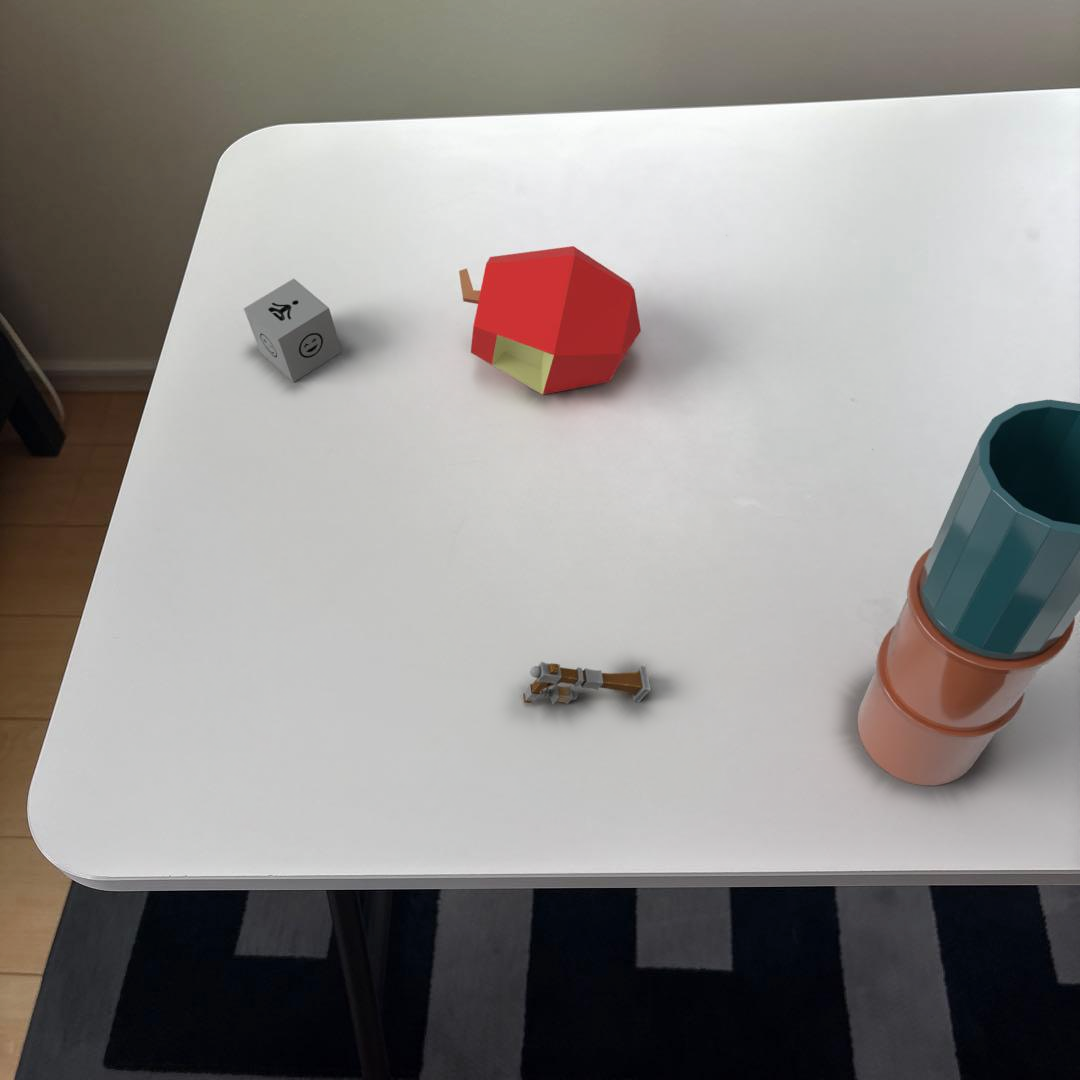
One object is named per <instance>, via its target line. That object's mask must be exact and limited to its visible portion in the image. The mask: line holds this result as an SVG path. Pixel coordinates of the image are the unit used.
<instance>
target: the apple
mask: <svg viewBox="0 0 1080 1080" xmlns="http://www.w3.org/2000/svg"><path fill="white" fill-rule="evenodd" d="M486 261H487V262H486V263H485V267H484V272H483V277H482V281H481V285H480V286H481V287H480V290H477V289H474V287H473V284H472V281H471V277H470V274H469V271H468V268H467V267H466V268H463V269H460V270H458V274H459V281H460V287H461V288H460V289H461V295H462V296H461V297H462V302H465V303H470V304H474V305H475V304H476V305H477V307H476V310H475V316H474V321H473V326H472V327H473V328H472V336H471V345H470V354H472V355H473V356H476V357H477V358H479V359H481V360H483V361H484V362H486V363H487V364H489V365H491V366H493V367H494V368H496V369H498V370H499V371H501V372H503V373H505V374H506V375H508V376H510V377H512V378H513V379H515V380H517V381H518V382H520V383H522V384H523V385H525V386H526V387H529V388H530V389H532V390H533V391H535V392H538V393H539V394H541V396H544V395H548V394H553V393H558V392H559V393H560V392H564V391H568V390H573V389H578V388H579V389H580V388H583V387H588V386H594V385H598V384H603V383H608V382H610V381H611V380H612V378H613V377H614V375H615V373H616V371H617V370H618V368H619V367H620V365H621V363H622V362H623V360H624V359H625V357H626V356H627V354H628V353H629V351H630V349H631V348H632V346H633V344H634V343H635V341H636V340H637V338H638V336H639V335H640V333H641V332H642V327H641V323H640V318H639V317H640V316H639V312H638V310H639V309H638V304H637V298H636V292H635V288H634V287H633V286H632V284H631V283H630V282H629V281H627V280H626V279H625V278H623V277H622V276H621V275H618V274H617V273H615V272H614V271H612V270H611V269H609V268H608V267H606V266H604V265H603V264H602V263H600V262H599V261H597V260H596V259H594V258H592V257H591V256H589V255H588V254H586V253H585V252H583V251H582V250H580V249H578V248H577V247H575V246H574V245H572V246H563V247H557V248H549V249H540V250H533V251H532V250H531V251H525V252H516V253H510V254H502V255H493V256H489V258H488V260H486Z"/></svg>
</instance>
